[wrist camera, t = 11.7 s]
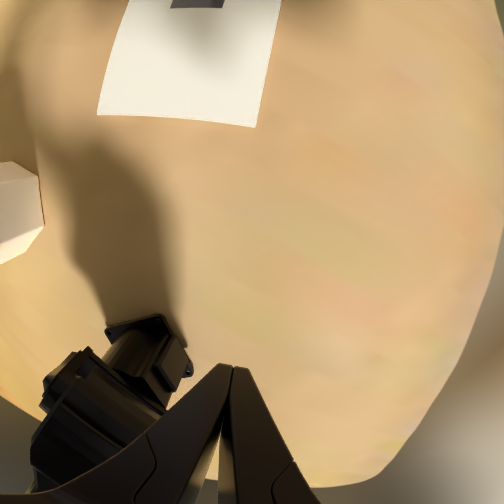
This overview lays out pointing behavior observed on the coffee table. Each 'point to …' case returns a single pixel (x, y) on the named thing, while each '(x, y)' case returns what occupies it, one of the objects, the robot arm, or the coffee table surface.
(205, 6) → the letter mat
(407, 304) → the coffee table surface
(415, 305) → the coffee table surface
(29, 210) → the jar
